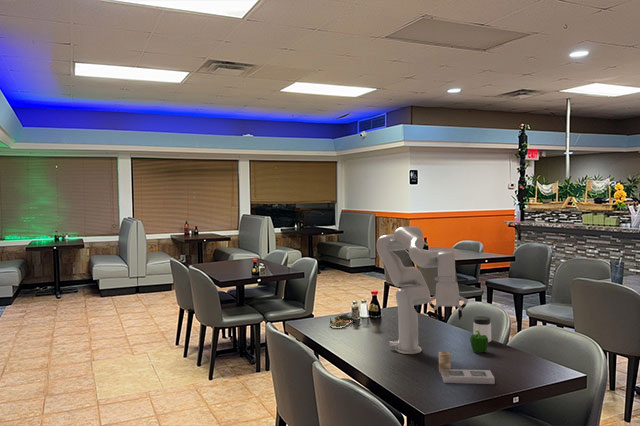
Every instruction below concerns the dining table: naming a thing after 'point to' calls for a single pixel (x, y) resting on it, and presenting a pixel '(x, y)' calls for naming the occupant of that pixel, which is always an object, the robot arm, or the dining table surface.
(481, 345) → the bell pepper
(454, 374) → the rail
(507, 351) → the dining table surface
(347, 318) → the plated dish
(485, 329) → the jar
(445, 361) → the beech block
